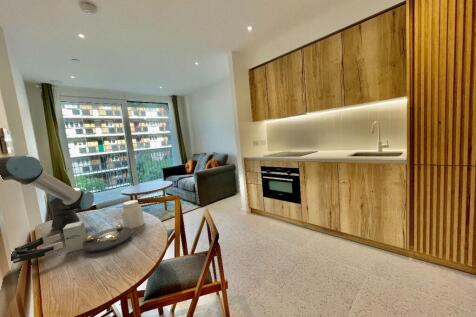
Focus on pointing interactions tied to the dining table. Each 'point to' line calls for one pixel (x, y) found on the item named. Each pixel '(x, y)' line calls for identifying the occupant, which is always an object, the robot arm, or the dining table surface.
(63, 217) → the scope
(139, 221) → the jar
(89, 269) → the dining table surface
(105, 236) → the base
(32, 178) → the robot arm
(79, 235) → the supplement box
